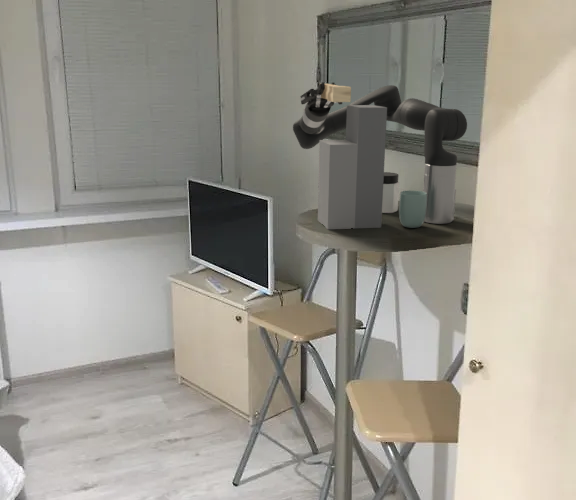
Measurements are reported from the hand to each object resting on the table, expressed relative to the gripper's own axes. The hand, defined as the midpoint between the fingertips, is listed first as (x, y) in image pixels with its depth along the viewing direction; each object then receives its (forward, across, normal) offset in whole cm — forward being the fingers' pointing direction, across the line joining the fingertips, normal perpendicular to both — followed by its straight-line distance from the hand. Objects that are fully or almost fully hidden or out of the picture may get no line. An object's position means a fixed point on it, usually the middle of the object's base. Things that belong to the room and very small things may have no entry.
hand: (328, 85), depth 191 cm
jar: (-25, -21, -31) cm, 46 cm away
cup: (-5, -22, -43) cm, 48 cm away
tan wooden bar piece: (+1, 0, -5) cm, 6 cm away
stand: (-11, -5, -39) cm, 41 cm away
